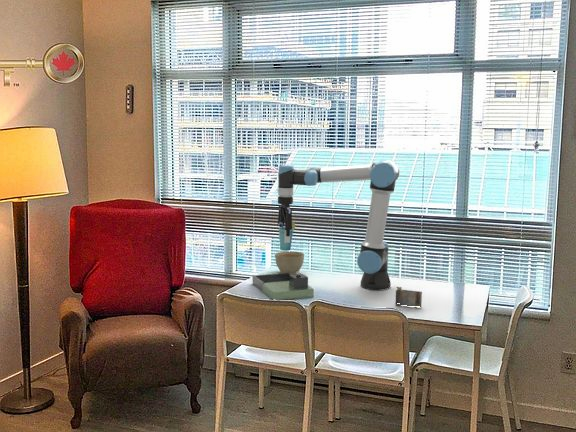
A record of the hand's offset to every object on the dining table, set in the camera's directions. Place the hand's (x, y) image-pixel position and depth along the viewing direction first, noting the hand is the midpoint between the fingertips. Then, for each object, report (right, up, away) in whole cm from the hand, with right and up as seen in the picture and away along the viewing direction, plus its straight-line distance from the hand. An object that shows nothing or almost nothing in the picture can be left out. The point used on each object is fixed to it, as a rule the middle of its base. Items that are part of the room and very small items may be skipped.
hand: (284, 240), depth 326 cm
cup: (0, -5, +1) cm, 5 cm away
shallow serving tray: (-1, -24, -7) cm, 25 cm away
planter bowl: (+3, -19, +29) cm, 35 cm away
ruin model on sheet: (+56, -29, -33) cm, 72 cm away
